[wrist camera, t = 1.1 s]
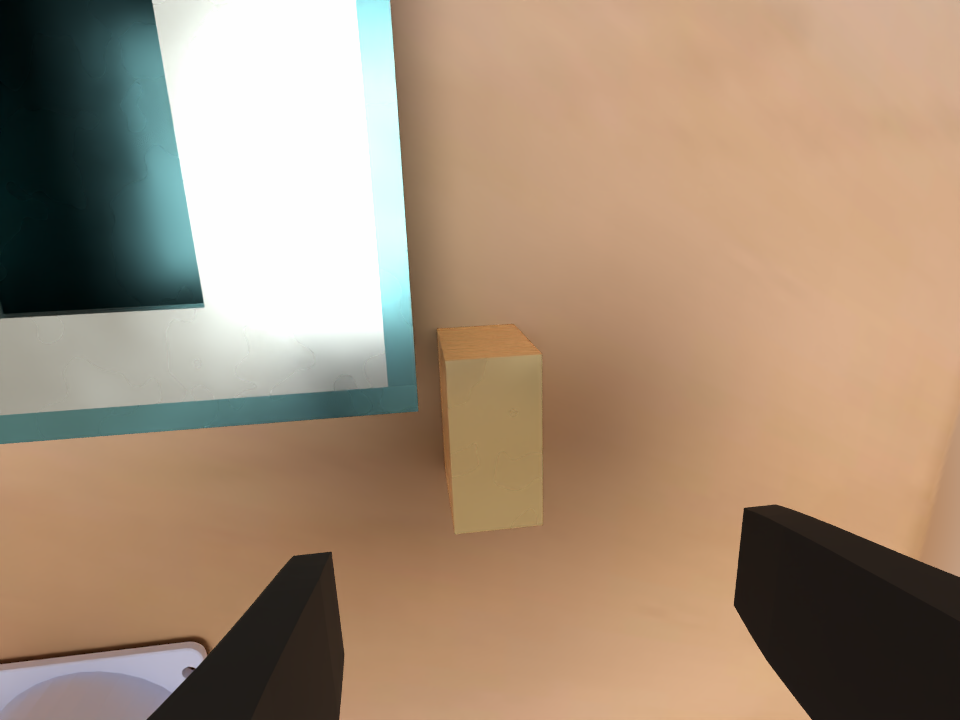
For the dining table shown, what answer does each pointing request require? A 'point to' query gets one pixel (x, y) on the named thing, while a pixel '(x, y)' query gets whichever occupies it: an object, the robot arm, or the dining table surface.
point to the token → (491, 427)
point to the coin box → (199, 216)
